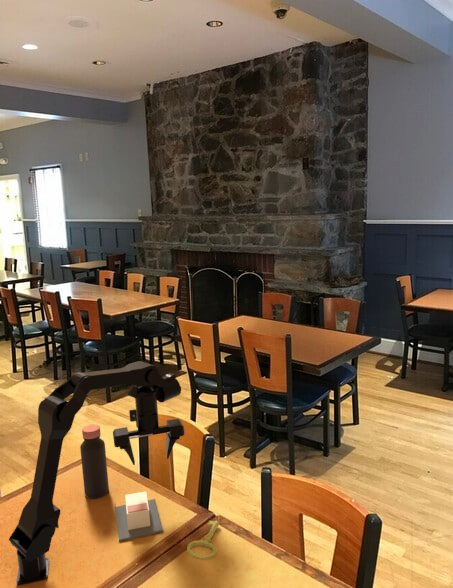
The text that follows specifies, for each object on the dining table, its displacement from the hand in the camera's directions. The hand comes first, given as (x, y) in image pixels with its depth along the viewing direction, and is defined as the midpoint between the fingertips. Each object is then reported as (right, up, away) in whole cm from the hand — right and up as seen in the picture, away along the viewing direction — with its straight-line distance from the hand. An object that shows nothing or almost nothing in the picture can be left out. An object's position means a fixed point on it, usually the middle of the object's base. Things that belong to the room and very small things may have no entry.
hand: (150, 461), depth 134 cm
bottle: (-17, -12, +8) cm, 22 cm away
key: (+16, -15, -15) cm, 27 cm away
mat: (-2, -14, -6) cm, 15 cm away
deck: (-2, -13, -6) cm, 14 cm away
